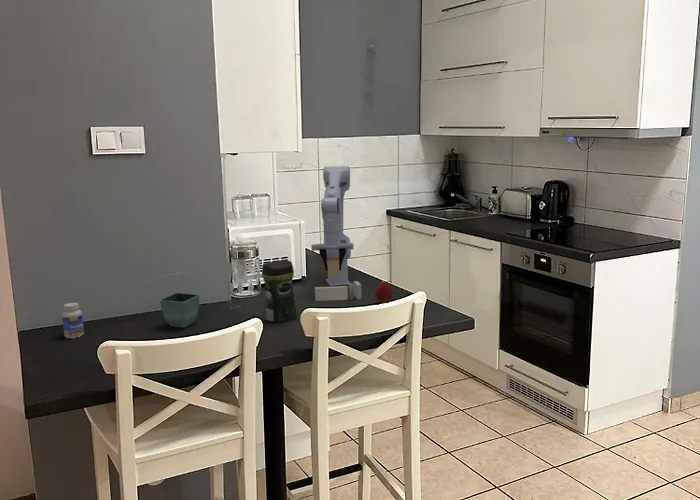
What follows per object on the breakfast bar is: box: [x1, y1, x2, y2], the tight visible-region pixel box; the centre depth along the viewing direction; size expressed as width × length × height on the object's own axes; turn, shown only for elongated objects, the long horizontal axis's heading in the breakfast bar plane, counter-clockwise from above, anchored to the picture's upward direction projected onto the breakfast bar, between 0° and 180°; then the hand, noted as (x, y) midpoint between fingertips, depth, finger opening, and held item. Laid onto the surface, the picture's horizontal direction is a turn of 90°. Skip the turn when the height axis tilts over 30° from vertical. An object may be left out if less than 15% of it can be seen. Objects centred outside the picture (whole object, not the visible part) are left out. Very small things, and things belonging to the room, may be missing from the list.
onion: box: [374, 280, 393, 304], centre depth 217 cm, size 6×6×8 cm
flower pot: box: [159, 292, 200, 329], centre depth 201 cm, size 9×9×9 cm
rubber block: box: [327, 257, 340, 277], centre depth 229 cm, size 6×4×6 cm, turn 3°
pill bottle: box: [61, 302, 85, 339], centre depth 194 cm, size 5×5×10 cm
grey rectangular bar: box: [314, 285, 349, 302], centre depth 225 cm, size 11×2×4 cm, turn 92°
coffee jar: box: [261, 259, 297, 323], centre depth 204 cm, size 10×8×19 cm
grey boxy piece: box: [347, 280, 362, 301], centre depth 226 cm, size 5×4×6 cm
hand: (333, 270), depth 229 cm, fingers closed on rubber block, 4 cm apart
